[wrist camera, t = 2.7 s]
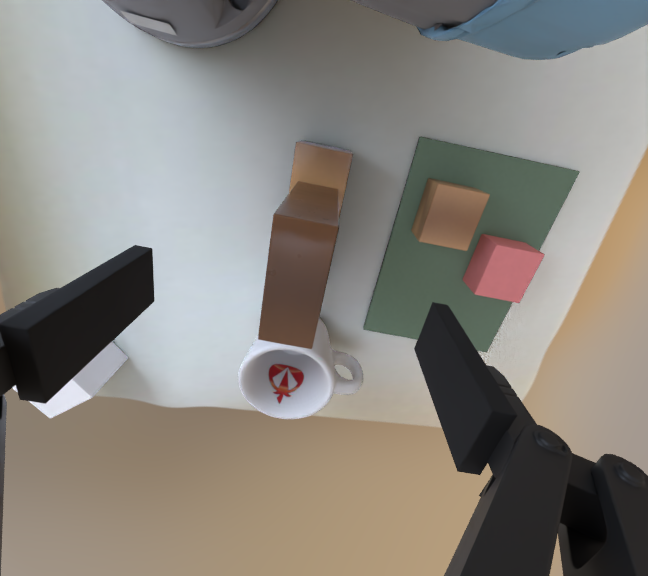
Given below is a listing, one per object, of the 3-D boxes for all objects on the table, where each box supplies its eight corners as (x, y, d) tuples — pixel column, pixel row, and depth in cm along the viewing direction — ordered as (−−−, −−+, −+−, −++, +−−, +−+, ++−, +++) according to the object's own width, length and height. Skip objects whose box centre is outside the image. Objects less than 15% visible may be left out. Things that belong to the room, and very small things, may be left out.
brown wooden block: (301, 139, 26) (269, 152, 14) (350, 150, 26) (363, 171, 14) (281, 275, 31) (244, 373, 19) (322, 283, 31) (312, 385, 19)
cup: (372, 316, 33) (382, 369, 26) (347, 375, 36) (349, 436, 29) (267, 287, 32) (247, 334, 25) (251, 350, 35) (229, 408, 28)
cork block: (427, 177, 26) (438, 183, 24) (475, 187, 27) (490, 194, 24) (410, 230, 28) (418, 241, 26) (454, 239, 29) (467, 251, 26)
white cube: (87, 316, 34) (41, 351, 29) (128, 357, 36) (92, 397, 31) (49, 339, 36) (-3, 376, 30) (90, 377, 38) (49, 419, 32)
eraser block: (481, 233, 28) (496, 244, 26) (525, 242, 28) (545, 254, 26) (462, 279, 30) (474, 294, 28) (503, 287, 30) (519, 303, 28)
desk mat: (419, 136, 26) (420, 136, 25) (576, 171, 26) (580, 171, 26) (363, 327, 33) (363, 329, 33) (485, 350, 34) (486, 352, 34)
